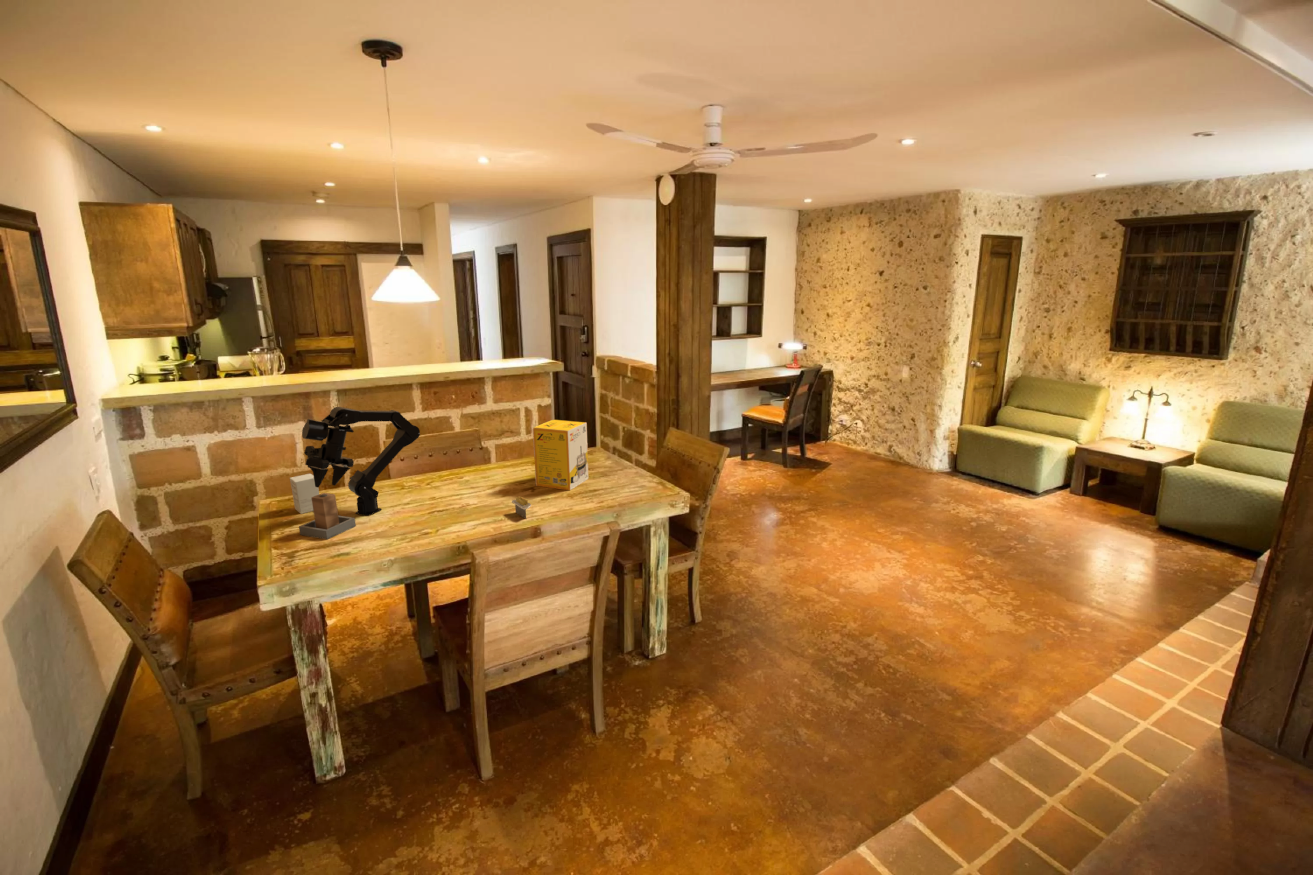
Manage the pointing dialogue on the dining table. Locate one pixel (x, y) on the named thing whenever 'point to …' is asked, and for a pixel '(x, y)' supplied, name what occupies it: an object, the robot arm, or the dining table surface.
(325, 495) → the block
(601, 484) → the dining table surface
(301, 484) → the supplement box
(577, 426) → the packaging box
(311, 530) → the tray
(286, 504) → the dining table surface
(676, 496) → the dining table surface
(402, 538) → the dining table surface
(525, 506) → the platform
